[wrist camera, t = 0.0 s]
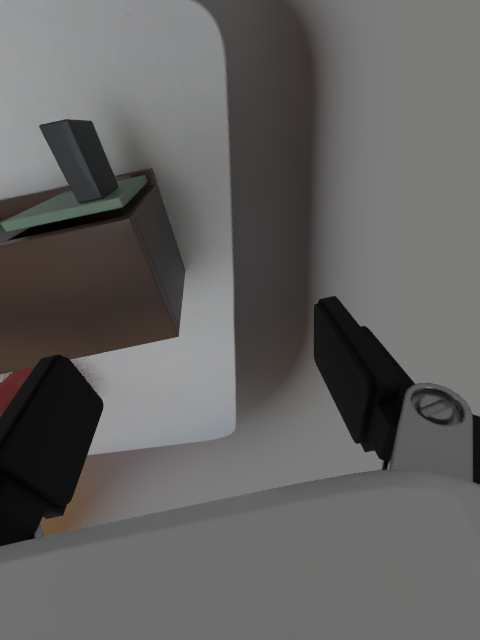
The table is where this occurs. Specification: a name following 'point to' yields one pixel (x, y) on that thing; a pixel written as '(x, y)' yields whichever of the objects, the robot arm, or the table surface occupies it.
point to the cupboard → (88, 279)
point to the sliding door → (78, 178)
